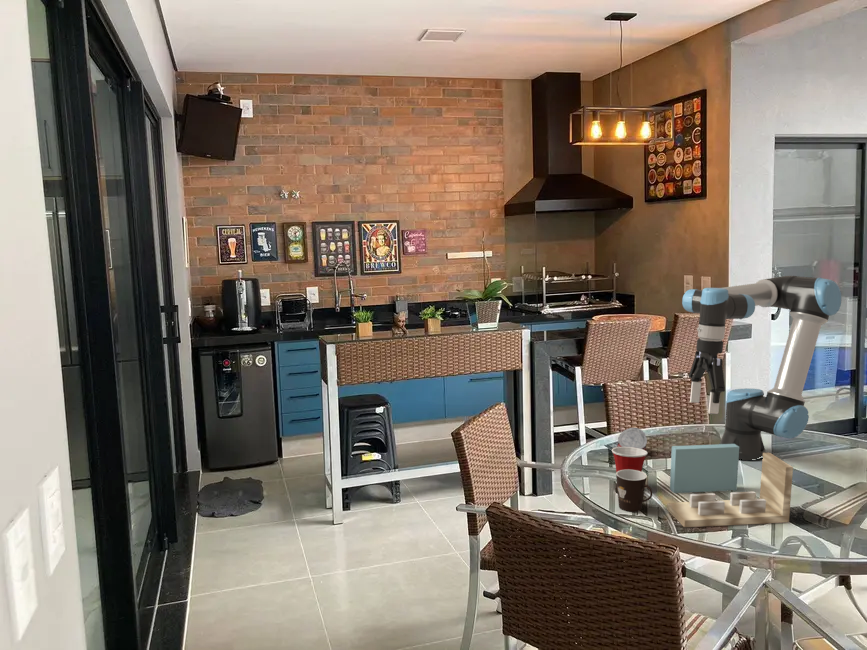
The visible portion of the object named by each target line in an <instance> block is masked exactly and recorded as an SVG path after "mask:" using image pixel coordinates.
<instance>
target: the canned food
mask: <svg viewBox="0 0 867 650" xmlns="http://www.w3.org/2000/svg"><path fill="white" fill-rule="evenodd" d="M617 440H618V441H617V444H616V445H617V446H616V447H634V448H639V449H643V450H645V451H647V444H648V438H647V436H646V433H645V432H644V431H643V429H640V428H638V427H629V428H627V429H624V430H623V431H622V432H621V433H620V434H619V435H618V438H617Z"/></svg>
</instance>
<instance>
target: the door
mask: <svg viewBox="0 0 867 650" xmlns="http://www.w3.org/2000/svg"><path fill="white" fill-rule="evenodd" d="M670 458H671V459H670V474H669V475H670V478H669V490H670V491H671V492H672V493H673V494H681V493H682V494H684V493H685V494H686V493H707V492H708V493H709V492H710V493H711V492H728V491H729V492H730V491H731V490H733V491H737V488H738V474H739V472H738V470H739V461H740V460H739V446H737V445H736V444H719V443H718V444H695V445H694V444H693V445H671V455H670ZM727 490H728V491H727ZM731 492H732V491H731Z"/></svg>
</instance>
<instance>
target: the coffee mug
mask: <svg viewBox="0 0 867 650" xmlns="http://www.w3.org/2000/svg"><path fill="white" fill-rule="evenodd" d="M615 476H616V488H617V500H618V501H617V502H618V508H619V509H620V510H622V511H623V512H627V513H628V512H629V513H637V512H638V513H639V512H641V510H642V508H643V503H644V502H647V501H649V500H650V499H652V497H653V490H652V488H651V487H650V486H649V485H647V478H648V475H647V474H646V473H645V472H643V471H642V472H641V471H637V470H629V469H628V470H620V471H618V472H616V471H615ZM645 489H648V490H649V496H648V498H645V499H644V495H645V492H646V491H645Z"/></svg>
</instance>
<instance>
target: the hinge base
mask: <svg viewBox="0 0 867 650" xmlns="http://www.w3.org/2000/svg"><path fill="white" fill-rule="evenodd" d="M761 460H762V462H761V476H760V489H759V490H760V492H759V498H757V492H755V491H753V490H752V491H733V492H732V491H731V492H730V491H729V492H730V493H729V495H730V497H729V499H726V500H725V499H723V500H721V499H720V500H716V498H717V497H716V494H715V492H714V493H713V492H712V493H711V492H710V493H709V492H708V493H707V492H705V493H690V494H689V501H683V502H682V501H679V502H667V503H666V511H668V513H670V515H672V516H673V518H675V519H676V521H678V523H679V524H681V526H683V527H684V528H699V527H716V526H717V527H718V526H719V527H720V526H721V527H722V526H737V525H738V526H740V525H741V526H742V525H759V524H760V525H761V524H763V525H764V524H777V523H778V524H780V523H782V524H783V523H790V511H791V501H792V500H791V498H792V486H793V485H792V484H793V476H794V475H793V474H794V473H793V472H794V467H793V466H792V465H790V464H789V463H787V462H786V461H784V460H782V459H781V458H779V457H778V456H776V455H774V454H773V453H771V452H765V453H763V459H761Z"/></svg>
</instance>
